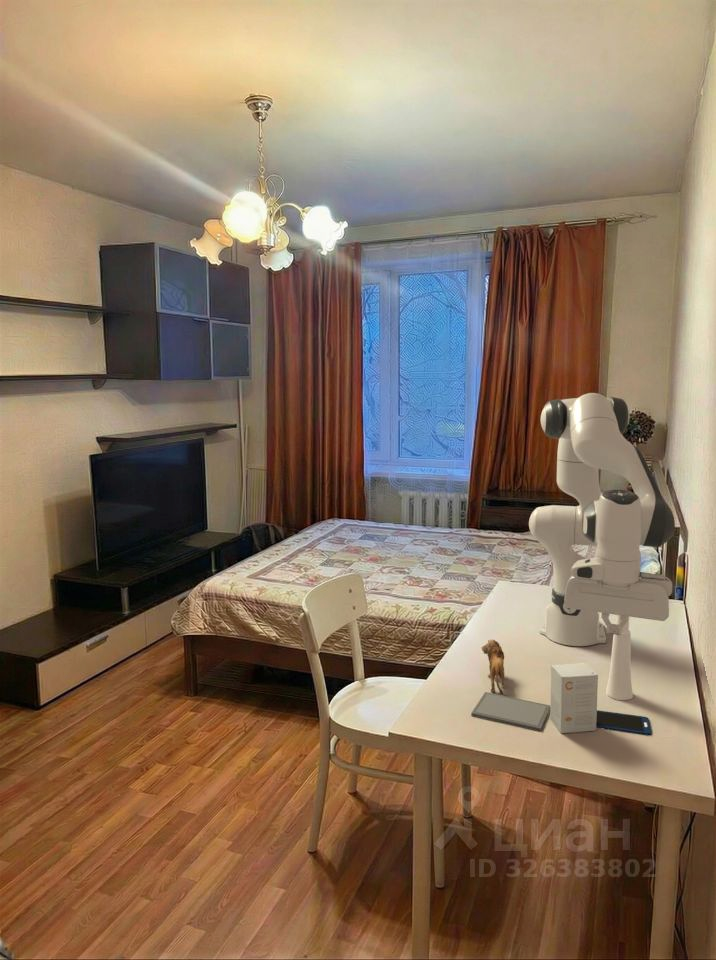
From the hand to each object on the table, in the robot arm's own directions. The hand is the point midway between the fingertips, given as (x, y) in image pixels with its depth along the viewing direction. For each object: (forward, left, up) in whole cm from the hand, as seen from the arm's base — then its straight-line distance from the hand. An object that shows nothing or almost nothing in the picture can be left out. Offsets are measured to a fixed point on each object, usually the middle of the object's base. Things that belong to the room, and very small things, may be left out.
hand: (614, 633), depth 136 cm
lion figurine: (-13, -29, -23) cm, 39 cm away
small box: (0, -8, -23) cm, 24 cm away
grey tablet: (0, -21, -23) cm, 31 cm away
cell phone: (-5, +1, -23) cm, 24 cm away
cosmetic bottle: (-19, 0, -23) cm, 30 cm away
